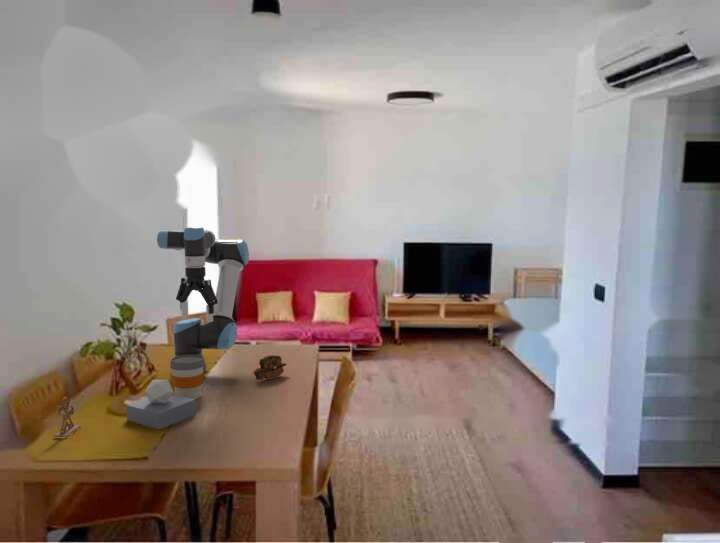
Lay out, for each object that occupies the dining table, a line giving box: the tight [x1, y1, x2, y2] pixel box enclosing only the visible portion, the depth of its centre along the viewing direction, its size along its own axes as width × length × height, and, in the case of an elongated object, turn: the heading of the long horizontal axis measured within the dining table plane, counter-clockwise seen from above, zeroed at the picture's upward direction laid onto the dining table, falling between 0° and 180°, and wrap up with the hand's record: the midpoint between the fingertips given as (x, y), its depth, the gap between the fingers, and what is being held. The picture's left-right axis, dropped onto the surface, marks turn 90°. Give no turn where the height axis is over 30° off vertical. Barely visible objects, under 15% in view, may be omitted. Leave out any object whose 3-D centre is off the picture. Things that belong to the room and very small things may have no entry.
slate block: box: [126, 393, 197, 430], centre depth 198 cm, size 16×16×6 cm
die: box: [144, 379, 174, 404], centre depth 197 cm, size 8×9×10 cm
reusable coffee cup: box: [169, 355, 205, 400], centre depth 219 cm, size 13×13×15 cm
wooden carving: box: [253, 354, 287, 381], centre depth 242 cm, size 16×5×10 cm, turn 143°
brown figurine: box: [53, 396, 81, 438], centre depth 184 cm, size 9×4×12 cm, turn 176°
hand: (197, 320), depth 225 cm, fingers open, 13 cm apart
